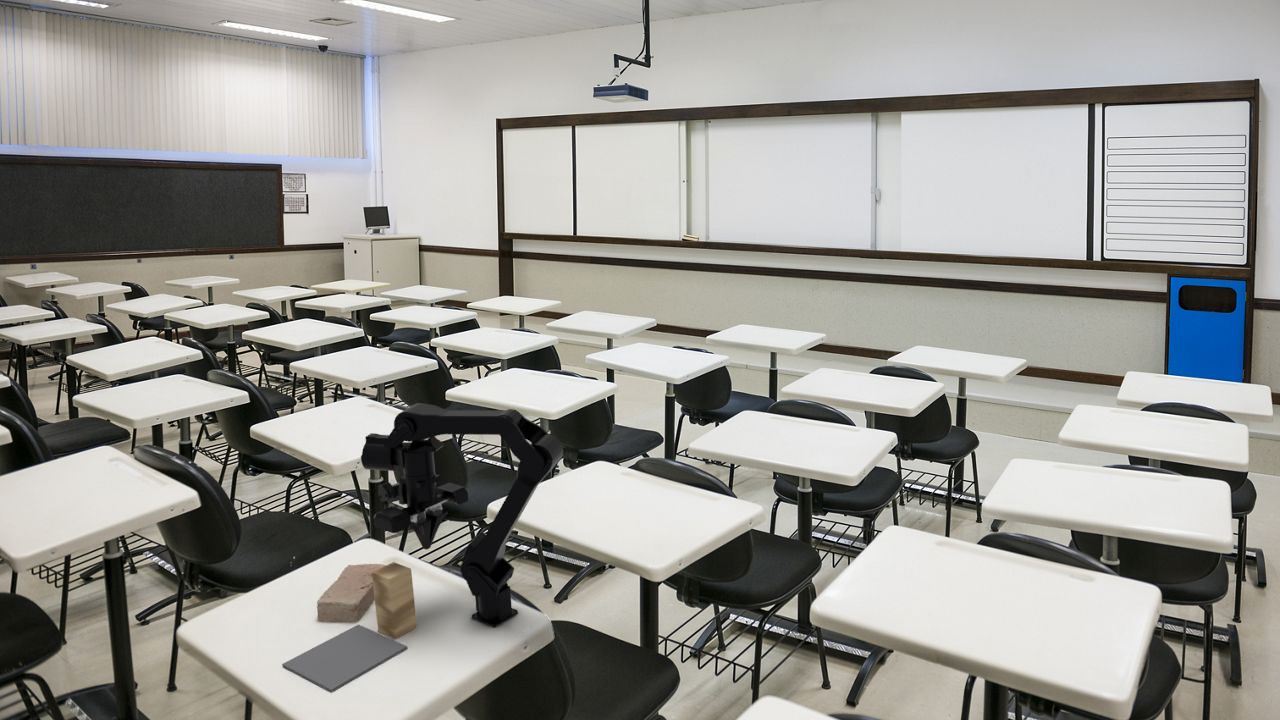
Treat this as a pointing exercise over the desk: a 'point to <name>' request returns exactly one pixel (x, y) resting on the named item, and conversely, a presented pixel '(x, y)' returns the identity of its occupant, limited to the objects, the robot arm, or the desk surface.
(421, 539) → the robot arm
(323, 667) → the mat
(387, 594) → the oak block
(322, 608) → the brick
